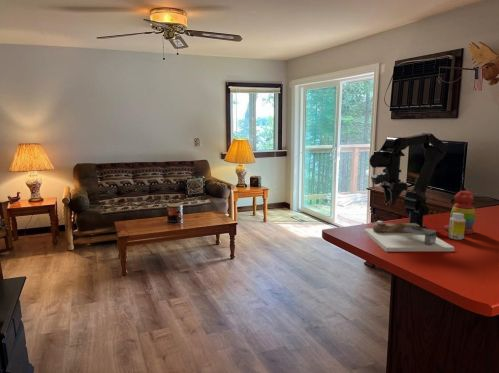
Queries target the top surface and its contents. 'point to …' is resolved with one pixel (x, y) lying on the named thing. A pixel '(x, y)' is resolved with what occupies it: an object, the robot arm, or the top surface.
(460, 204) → the stacking bear
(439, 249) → the board
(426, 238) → the keeper
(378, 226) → the brown wooden bar
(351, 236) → the top surface
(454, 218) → the supplement bottle
